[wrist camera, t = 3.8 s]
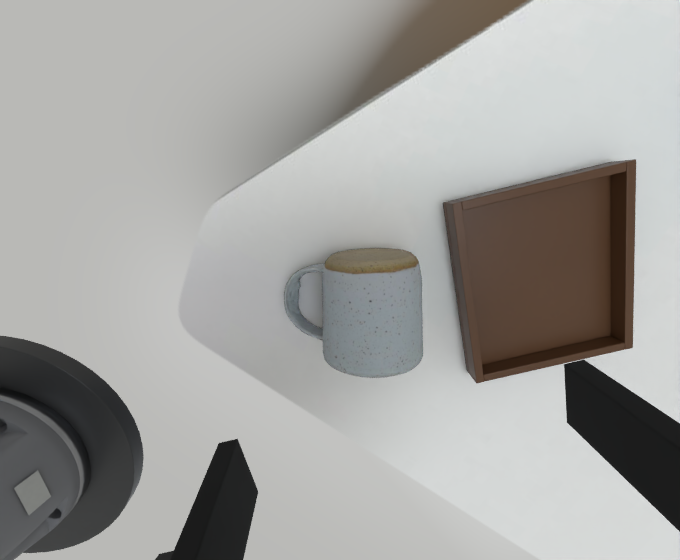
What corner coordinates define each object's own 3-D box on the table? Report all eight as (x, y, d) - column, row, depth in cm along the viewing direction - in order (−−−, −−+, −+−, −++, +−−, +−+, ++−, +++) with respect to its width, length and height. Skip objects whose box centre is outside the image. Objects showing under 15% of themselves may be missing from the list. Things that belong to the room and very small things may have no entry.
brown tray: (466, 370, 31) (476, 383, 29) (442, 202, 27) (452, 203, 25) (612, 337, 31) (632, 347, 29) (612, 161, 26) (636, 159, 24)
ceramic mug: (408, 241, 27) (437, 261, 20) (409, 331, 29) (435, 379, 22) (281, 249, 27) (262, 272, 20) (291, 339, 29) (278, 390, 22)
